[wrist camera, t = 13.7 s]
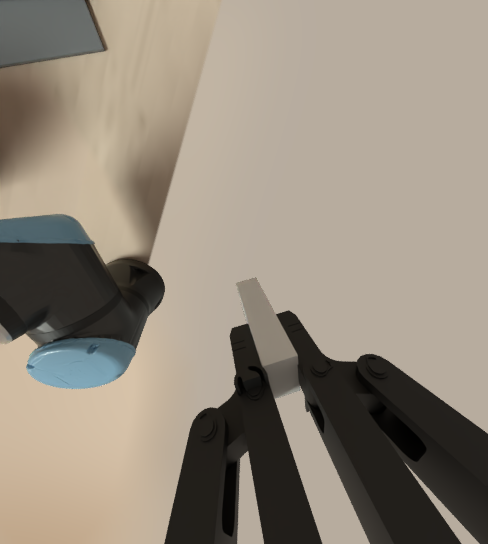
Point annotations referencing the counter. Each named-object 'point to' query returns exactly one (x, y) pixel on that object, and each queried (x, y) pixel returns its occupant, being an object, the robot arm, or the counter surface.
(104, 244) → the counter surface
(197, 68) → the counter surface
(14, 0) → the mat
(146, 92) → the counter surface
